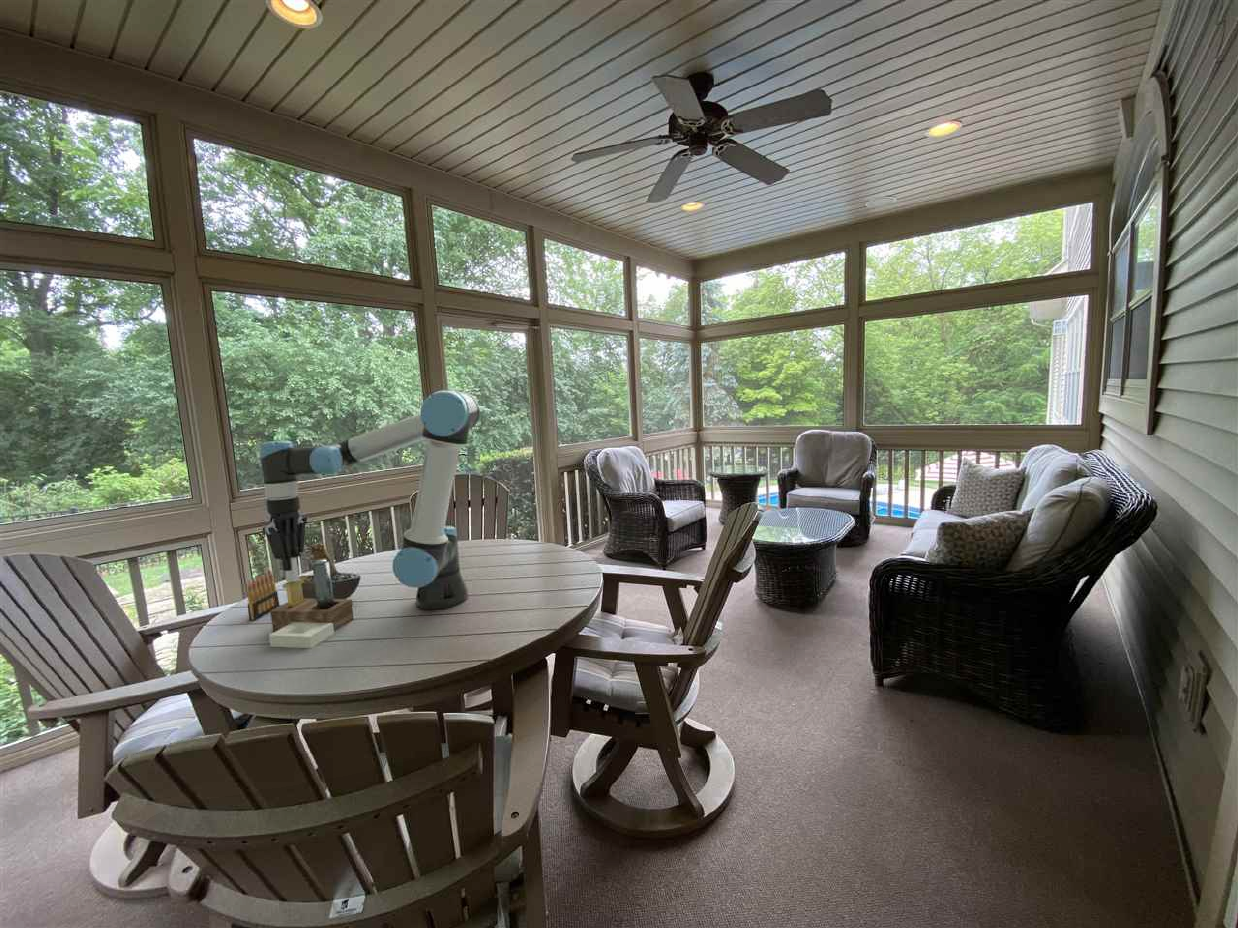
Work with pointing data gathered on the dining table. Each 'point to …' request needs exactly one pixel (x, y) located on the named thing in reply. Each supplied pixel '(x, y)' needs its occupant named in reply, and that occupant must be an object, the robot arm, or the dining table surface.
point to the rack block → (301, 634)
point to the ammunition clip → (262, 596)
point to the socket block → (313, 614)
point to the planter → (341, 582)
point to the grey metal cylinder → (323, 584)
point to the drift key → (294, 592)
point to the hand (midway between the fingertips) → (292, 580)
